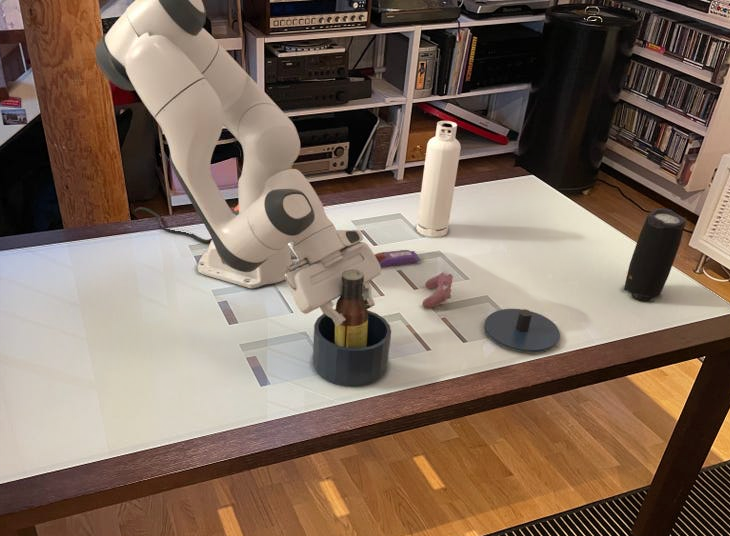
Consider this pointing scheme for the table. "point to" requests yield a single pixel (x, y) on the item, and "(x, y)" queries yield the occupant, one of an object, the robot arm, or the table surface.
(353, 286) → the sauce bottle
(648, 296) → the portable speaker
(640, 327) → the table surface
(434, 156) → the white gas cylinder
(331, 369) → the round dark pot
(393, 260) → the snack package
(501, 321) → the lid
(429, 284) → the video game controller
